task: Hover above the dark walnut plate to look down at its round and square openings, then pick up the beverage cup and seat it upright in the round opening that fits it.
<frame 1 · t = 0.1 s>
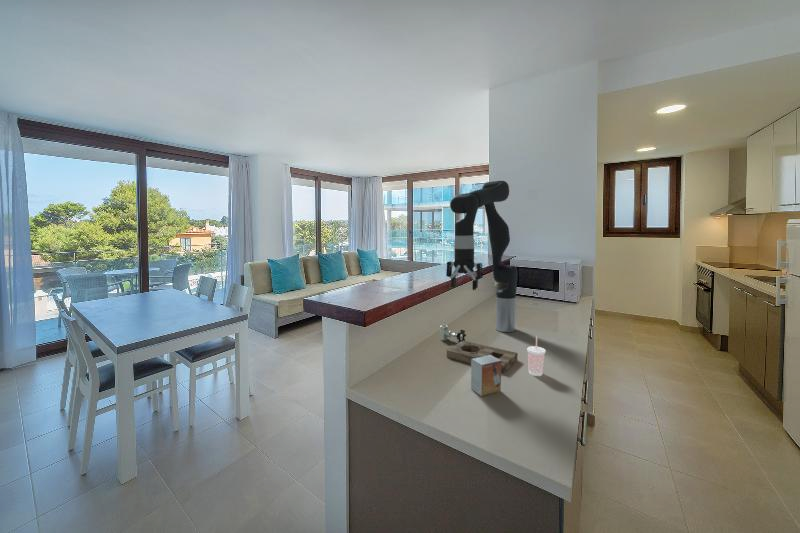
hand: (464, 288, 125), 29 cm above the countertop, tool pointing down, fingers open, 8 cm apart
beverage cup: (535, 373, 115), on the countertop
small box: (485, 390, 104), on the countertop
socket plate: (481, 358, 129), on the countertop
valve: (451, 341, 149), on the countertop
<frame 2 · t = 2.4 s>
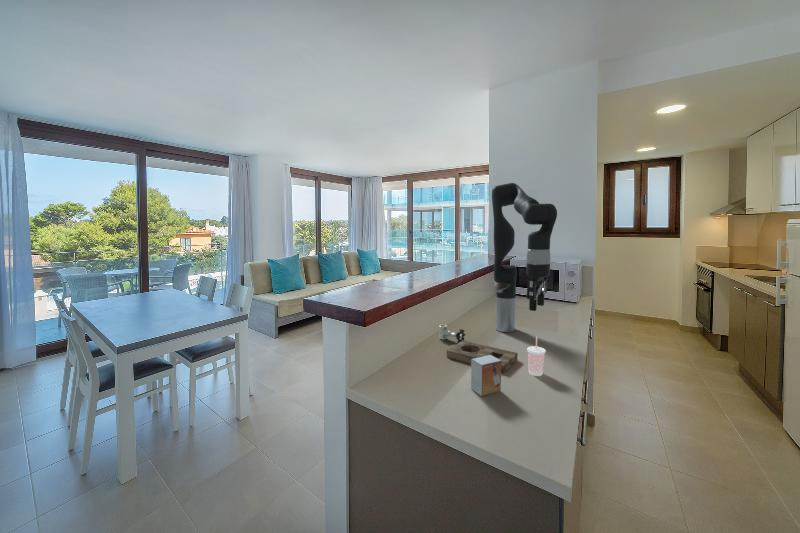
hand: (536, 307, 112), 24 cm above the countertop, tool pointing down, fingers open, 8 cm apart
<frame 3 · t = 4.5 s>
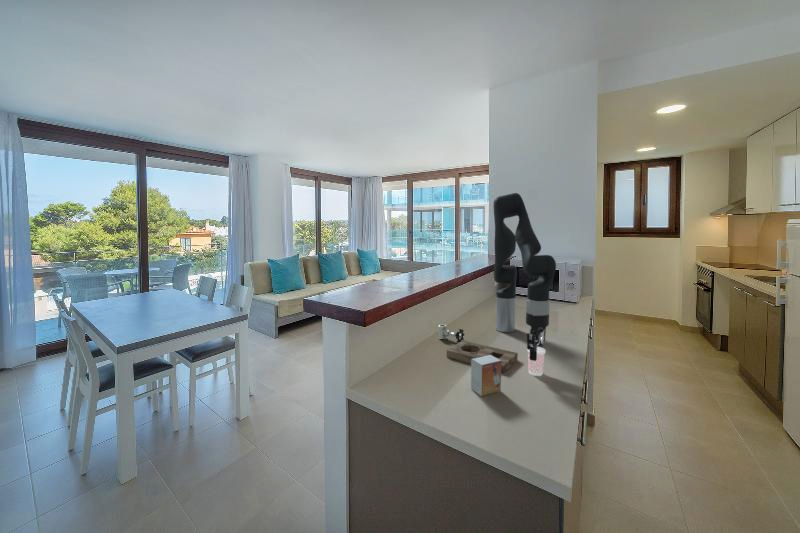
hand: (536, 356, 114), 6 cm above the countertop, tool pointing down, fingers closed on beverage cup, 6 cm apart
beverage cup: (535, 373, 115), on the countertop, touching gripper
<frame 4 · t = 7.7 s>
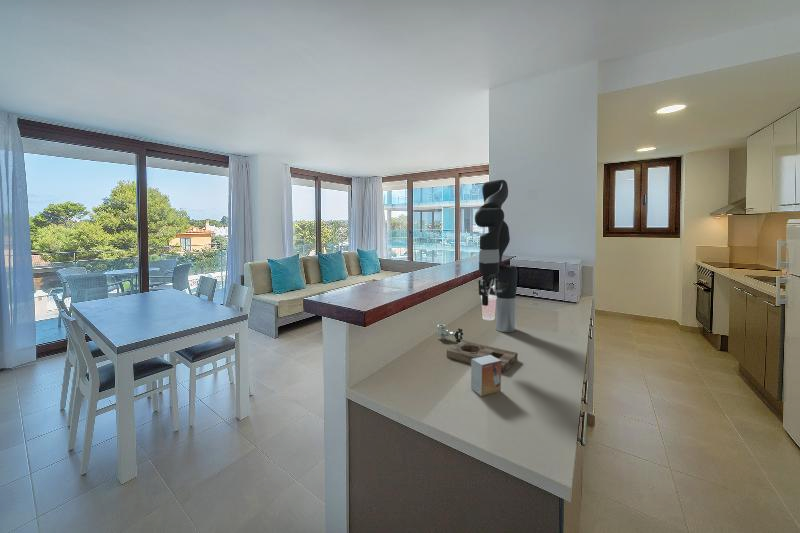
hand: (488, 303, 124), 23 cm above the countertop, tool pointing down, fingers closed on beverage cup, 6 cm apart
beverage cup: (488, 319, 125), point 17 cm above the countertop, touching gripper
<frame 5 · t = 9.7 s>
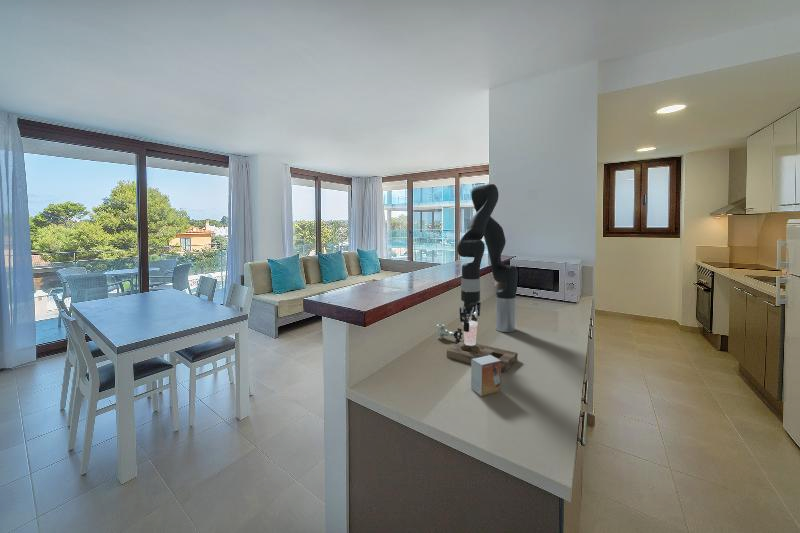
hand: (470, 329, 130), 11 cm above the countertop, tool pointing down, fingers closed on beverage cup, 6 cm apart
beverage cup: (470, 344, 131), point 5 cm above the countertop, touching gripper
when the fingers open (7 cm above the countertop, at t = 11.1 s): beverage cup drops 1 cm, resting in socket plate.
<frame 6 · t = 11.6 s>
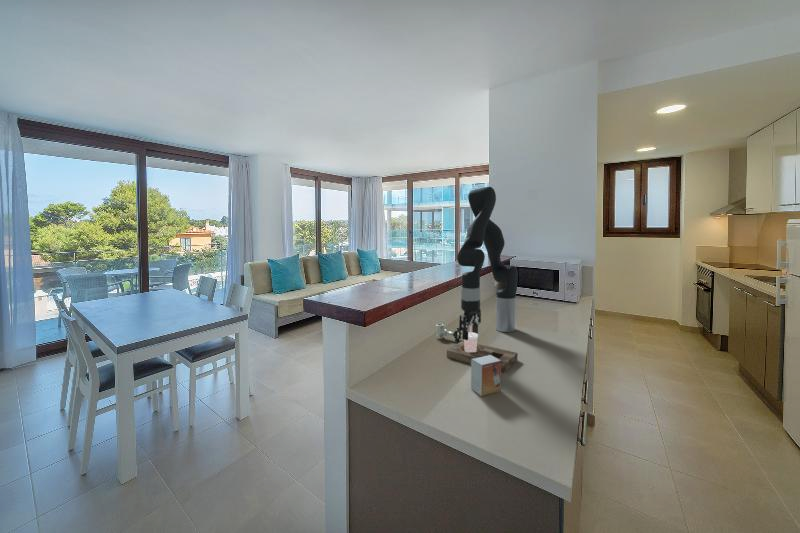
hand: (470, 336, 131), 8 cm above the countertop, tool pointing down, fingers open, 8 cm apart
beverage cup: (470, 355, 132), resting in socket plate
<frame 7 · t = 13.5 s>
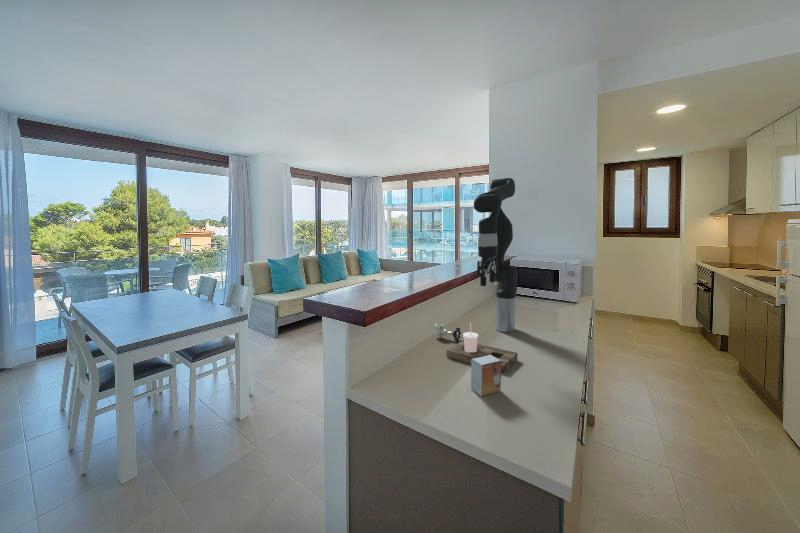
hand: (487, 284, 131), 29 cm above the countertop, tool pointing down, fingers open, 8 cm apart
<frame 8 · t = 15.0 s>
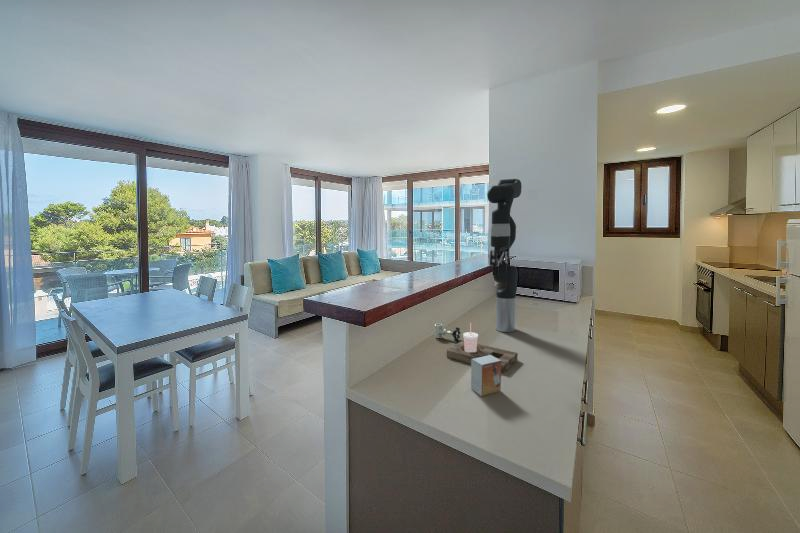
hand: (499, 274, 132), 33 cm above the countertop, tool pointing down, fingers open, 8 cm apart
at the end: beverage cup 0.2 cm from the target spot on the socket plate, point 0.0 cm above the socket plate's base; beverage cup tilted 0°; the gripper is holding nothing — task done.
